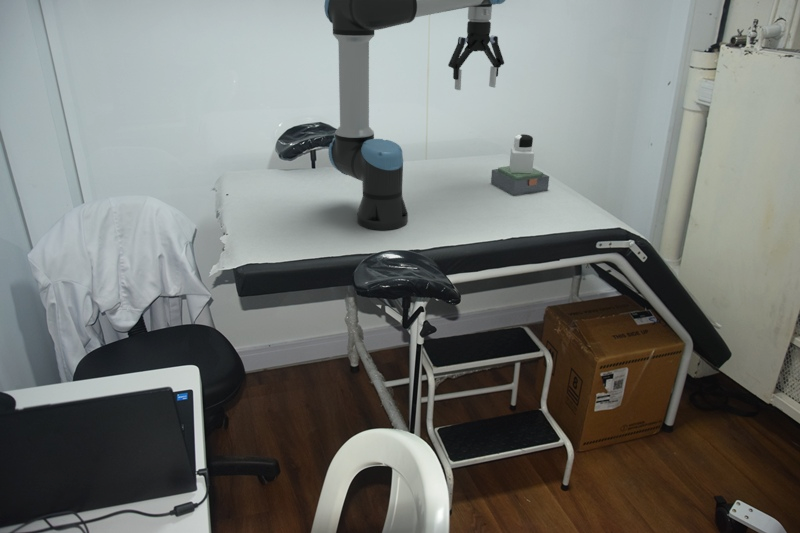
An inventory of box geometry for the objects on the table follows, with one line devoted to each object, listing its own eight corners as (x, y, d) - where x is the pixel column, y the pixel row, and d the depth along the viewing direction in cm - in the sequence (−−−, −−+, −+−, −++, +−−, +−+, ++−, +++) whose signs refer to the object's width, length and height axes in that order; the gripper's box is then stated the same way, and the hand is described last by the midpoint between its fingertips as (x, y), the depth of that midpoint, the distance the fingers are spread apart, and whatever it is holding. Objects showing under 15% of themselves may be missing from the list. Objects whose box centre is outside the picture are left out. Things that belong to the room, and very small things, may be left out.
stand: (514, 196, 204) (516, 179, 202) (490, 183, 216) (492, 167, 214) (548, 190, 210) (550, 174, 207) (523, 178, 222) (525, 162, 219)
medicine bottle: (530, 167, 213) (533, 133, 208) (532, 173, 207) (536, 138, 202) (509, 166, 214) (512, 132, 209) (510, 173, 208) (514, 138, 202)
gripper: (451, 22, 190) (448, 92, 199) (518, 20, 199) (512, 87, 209) (439, 20, 196) (437, 88, 205) (505, 18, 206) (500, 83, 215)
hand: (475, 88), depth 207 cm, fingers open, 13 cm apart
